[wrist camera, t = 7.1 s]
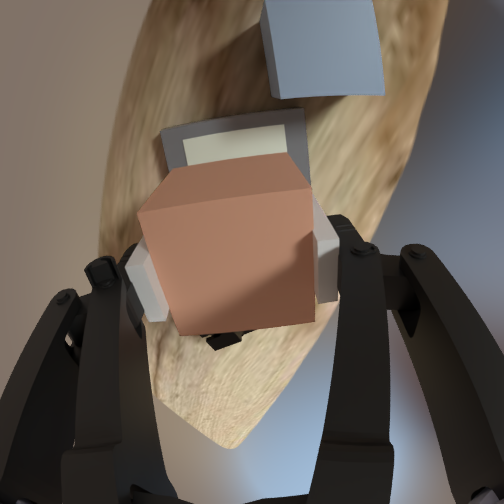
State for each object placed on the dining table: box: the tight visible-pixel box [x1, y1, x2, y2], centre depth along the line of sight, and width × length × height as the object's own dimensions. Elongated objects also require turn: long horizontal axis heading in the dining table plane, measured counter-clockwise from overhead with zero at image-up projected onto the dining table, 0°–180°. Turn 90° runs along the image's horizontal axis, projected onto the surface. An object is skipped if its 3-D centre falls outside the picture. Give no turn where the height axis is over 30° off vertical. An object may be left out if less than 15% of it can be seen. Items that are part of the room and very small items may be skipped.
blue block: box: [260, 0, 385, 99], centre depth 15 cm, size 6×6×6 cm
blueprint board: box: [160, 107, 311, 186], centre depth 21 cm, size 10×9×2 cm
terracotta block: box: [137, 152, 315, 336], centre depth 14 cm, size 6×6×6 cm
